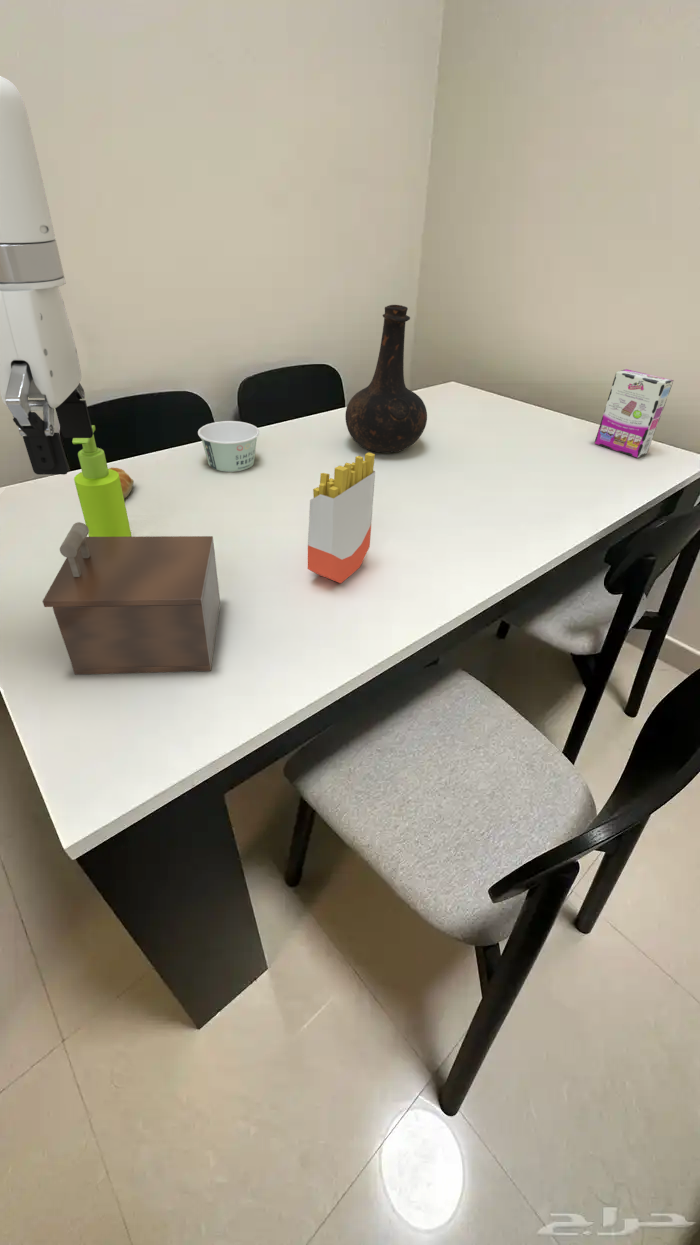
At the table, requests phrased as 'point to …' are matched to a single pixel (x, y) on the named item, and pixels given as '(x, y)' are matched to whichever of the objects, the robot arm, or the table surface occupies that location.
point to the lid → (130, 570)
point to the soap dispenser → (100, 493)
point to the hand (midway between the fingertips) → (66, 454)
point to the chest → (143, 634)
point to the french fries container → (341, 519)
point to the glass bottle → (387, 396)
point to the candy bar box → (633, 412)
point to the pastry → (124, 481)
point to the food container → (229, 445)
